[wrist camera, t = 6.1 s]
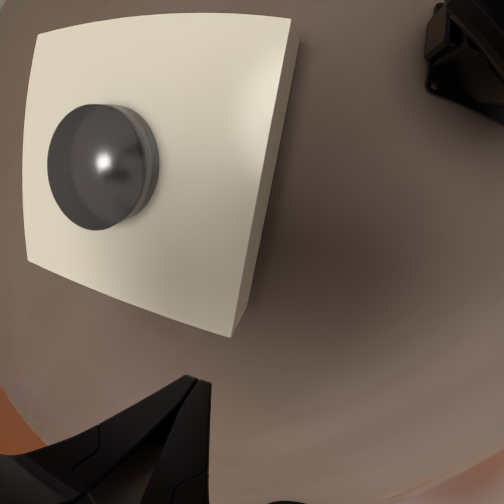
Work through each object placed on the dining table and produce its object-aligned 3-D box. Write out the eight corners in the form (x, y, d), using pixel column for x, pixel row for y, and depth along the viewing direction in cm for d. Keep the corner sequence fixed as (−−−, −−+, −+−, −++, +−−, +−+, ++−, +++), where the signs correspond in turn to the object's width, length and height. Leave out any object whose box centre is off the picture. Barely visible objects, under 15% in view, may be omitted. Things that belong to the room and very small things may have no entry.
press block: (299, 40, 16) (291, 19, 12) (246, 306, 23) (230, 338, 19) (72, 41, 19) (38, 34, 15) (58, 244, 26) (27, 260, 22)
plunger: (197, 111, 19) (147, 106, 13) (182, 215, 22) (134, 243, 16) (110, 104, 20) (51, 104, 15) (102, 196, 23) (47, 217, 17)
